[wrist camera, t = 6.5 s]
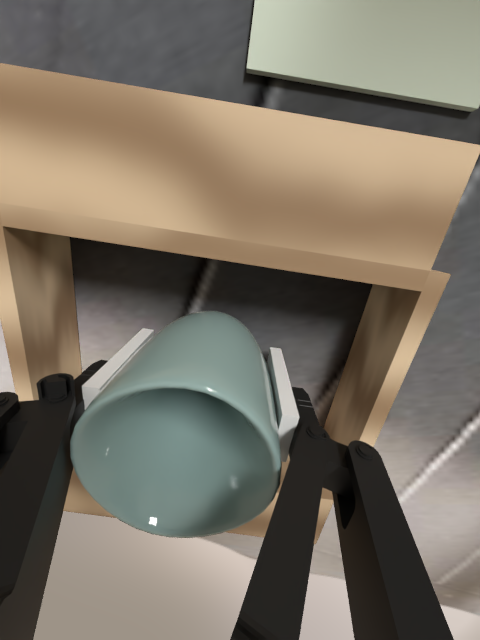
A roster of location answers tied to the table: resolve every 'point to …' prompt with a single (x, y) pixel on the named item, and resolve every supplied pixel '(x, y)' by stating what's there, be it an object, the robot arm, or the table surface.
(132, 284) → the table surface
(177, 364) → the cup
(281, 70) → the mat
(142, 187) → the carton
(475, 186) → the table surface
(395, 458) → the table surface
